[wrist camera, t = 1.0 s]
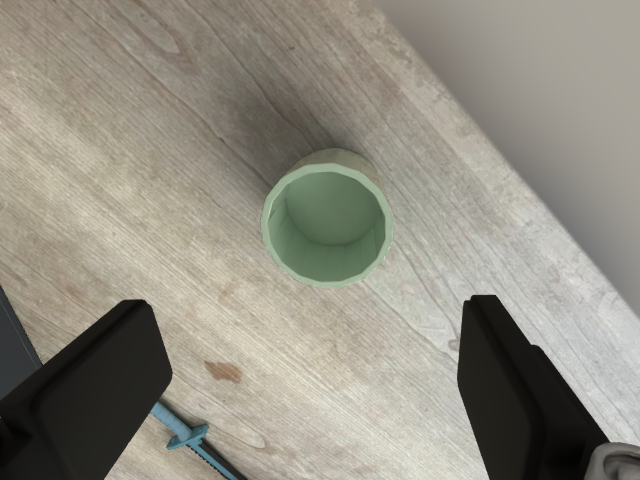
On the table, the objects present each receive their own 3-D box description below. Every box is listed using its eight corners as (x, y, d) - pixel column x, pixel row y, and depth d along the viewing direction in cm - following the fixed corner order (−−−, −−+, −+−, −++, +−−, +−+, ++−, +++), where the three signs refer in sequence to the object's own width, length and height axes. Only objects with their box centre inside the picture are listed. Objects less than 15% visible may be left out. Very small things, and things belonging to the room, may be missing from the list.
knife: (272, 496, 35) (236, 506, 36) (274, 483, 36) (239, 494, 37) (156, 394, 29) (119, 412, 31) (163, 383, 30) (127, 401, 32)
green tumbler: (276, 152, 21) (250, 168, 16) (384, 143, 20) (392, 158, 15) (289, 248, 24) (271, 289, 19) (385, 245, 23) (393, 286, 18)
